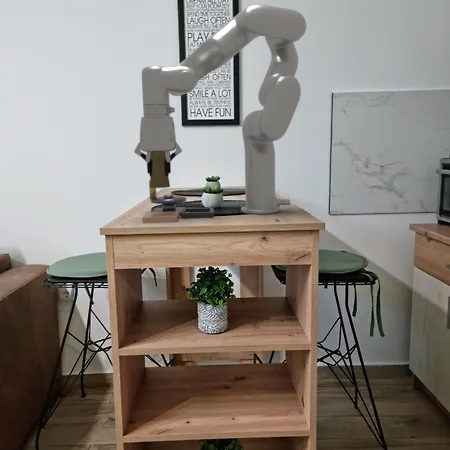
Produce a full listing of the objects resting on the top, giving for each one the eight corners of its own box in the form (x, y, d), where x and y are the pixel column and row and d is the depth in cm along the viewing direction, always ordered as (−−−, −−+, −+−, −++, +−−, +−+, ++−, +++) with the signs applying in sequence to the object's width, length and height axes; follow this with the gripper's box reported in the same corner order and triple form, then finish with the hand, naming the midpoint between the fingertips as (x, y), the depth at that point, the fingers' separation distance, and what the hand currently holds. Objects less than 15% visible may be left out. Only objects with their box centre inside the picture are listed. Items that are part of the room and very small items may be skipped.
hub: (185, 208, 158) (184, 200, 158) (183, 213, 149) (182, 204, 148) (156, 209, 158) (155, 200, 158) (152, 214, 149) (151, 205, 148)
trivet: (180, 216, 143) (179, 211, 143) (177, 221, 133) (176, 216, 133) (147, 217, 143) (147, 212, 143) (142, 222, 133) (142, 217, 133)
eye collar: (213, 212, 149) (213, 207, 148) (213, 217, 139) (212, 212, 139) (183, 213, 148) (183, 208, 148) (181, 218, 139) (181, 213, 139)
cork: (166, 188, 133) (164, 149, 131) (146, 187, 134) (144, 149, 132) (172, 186, 139) (171, 148, 137) (153, 185, 140) (152, 149, 138)
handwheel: (149, 200, 158) (148, 179, 156) (184, 198, 159) (183, 178, 158) (150, 204, 146) (149, 182, 145) (187, 202, 148) (186, 180, 147)
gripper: (186, 112, 136) (188, 174, 140) (129, 113, 136) (133, 175, 139) (184, 110, 129) (186, 176, 132) (124, 111, 129) (128, 177, 132)
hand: (159, 175), depth 136 cm, fingers closed on cork, 4 cm apart
